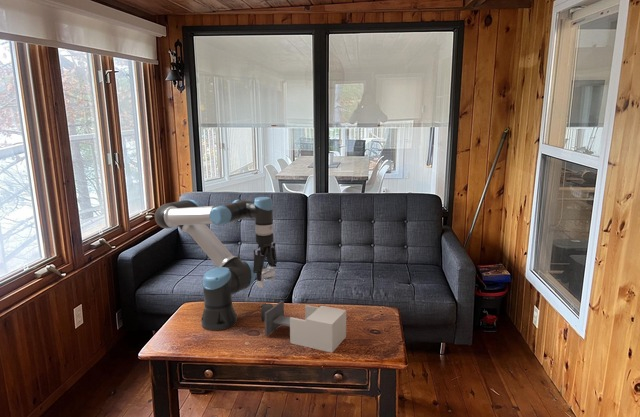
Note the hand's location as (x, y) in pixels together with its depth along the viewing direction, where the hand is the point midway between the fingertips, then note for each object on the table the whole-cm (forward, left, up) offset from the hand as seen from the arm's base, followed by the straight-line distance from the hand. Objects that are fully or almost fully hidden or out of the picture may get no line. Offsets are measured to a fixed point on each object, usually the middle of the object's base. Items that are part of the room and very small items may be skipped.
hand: (265, 283), depth 192 cm
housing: (+29, -8, -16) cm, 34 cm away
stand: (0, 0, -16) cm, 16 cm away
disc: (0, 0, +4) cm, 4 cm away
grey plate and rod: (+17, -8, -16) cm, 25 cm away
